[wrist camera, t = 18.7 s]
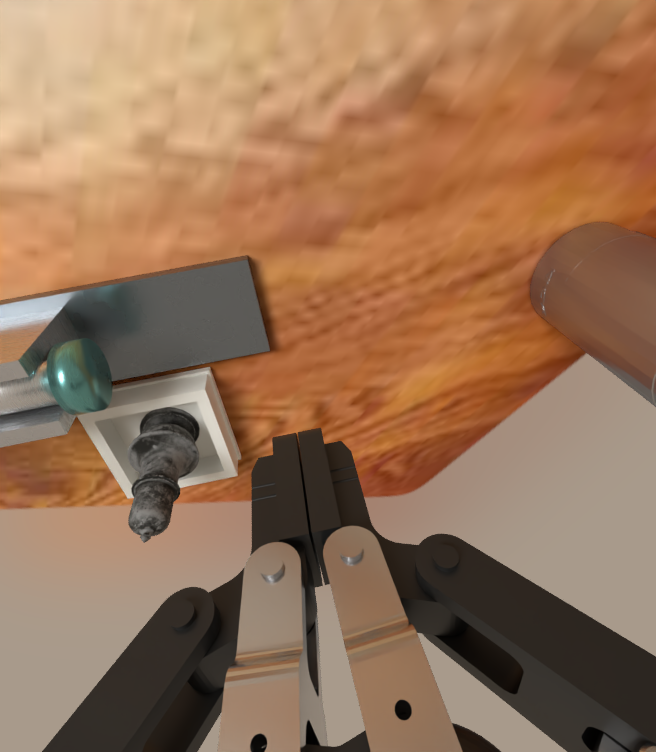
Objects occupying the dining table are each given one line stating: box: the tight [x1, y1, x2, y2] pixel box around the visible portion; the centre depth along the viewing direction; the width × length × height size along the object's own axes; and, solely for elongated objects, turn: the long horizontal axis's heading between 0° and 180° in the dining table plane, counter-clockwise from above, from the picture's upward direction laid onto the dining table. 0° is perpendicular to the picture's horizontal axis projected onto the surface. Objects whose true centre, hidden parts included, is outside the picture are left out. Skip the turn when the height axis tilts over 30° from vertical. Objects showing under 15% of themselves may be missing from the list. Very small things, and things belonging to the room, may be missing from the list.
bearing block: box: [0, 255, 270, 447], centre depth 31 cm, size 22×8×8 cm, turn 98°
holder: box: [77, 367, 241, 499], centre depth 39 cm, size 11×11×3 cm
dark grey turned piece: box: [127, 407, 200, 542], centre depth 35 cm, size 6×6×12 cm
